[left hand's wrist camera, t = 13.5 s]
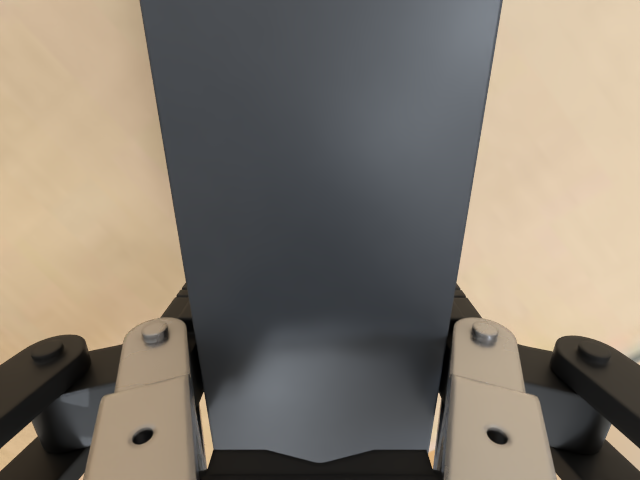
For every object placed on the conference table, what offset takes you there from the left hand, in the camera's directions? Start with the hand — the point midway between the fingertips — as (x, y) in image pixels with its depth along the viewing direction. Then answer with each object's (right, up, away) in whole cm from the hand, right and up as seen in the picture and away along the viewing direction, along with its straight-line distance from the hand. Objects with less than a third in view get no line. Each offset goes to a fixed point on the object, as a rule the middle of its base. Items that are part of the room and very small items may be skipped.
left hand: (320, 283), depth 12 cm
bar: (0, +10, 0) cm, 10 cm away
